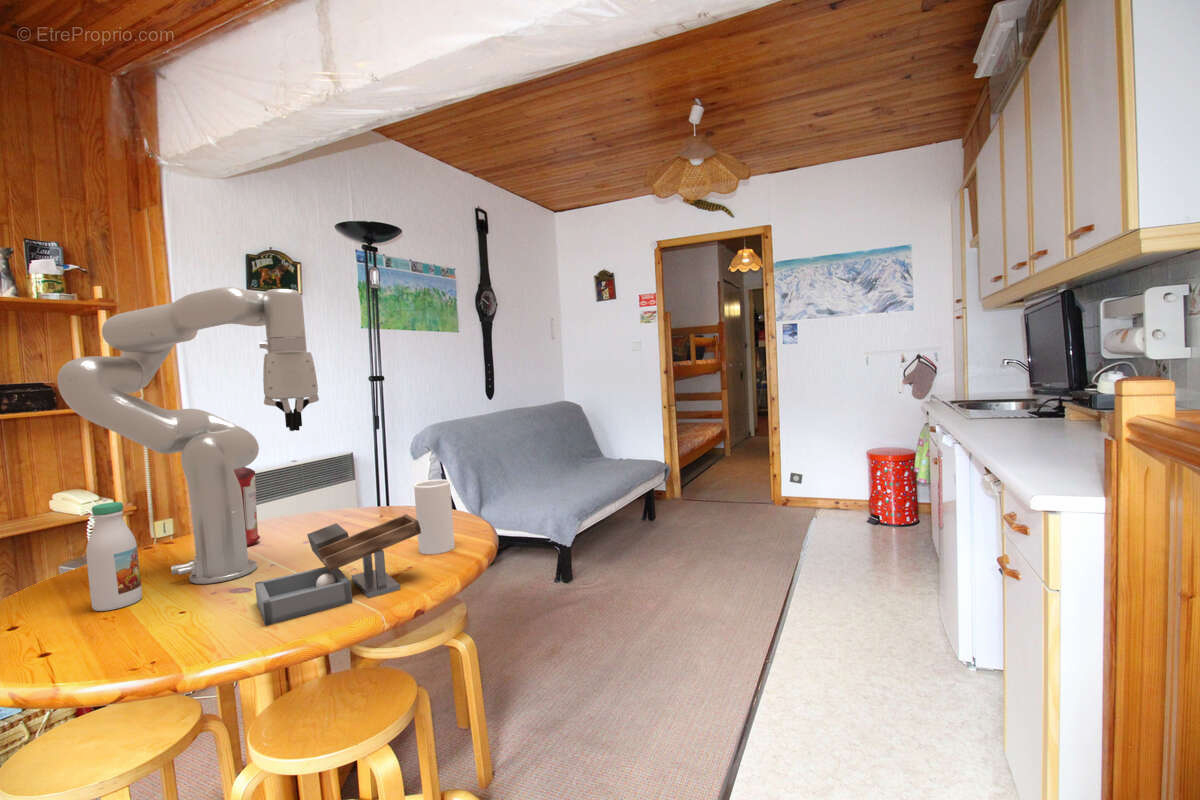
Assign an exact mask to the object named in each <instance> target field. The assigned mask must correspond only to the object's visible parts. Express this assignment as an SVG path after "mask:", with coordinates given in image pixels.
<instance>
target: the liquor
mask: <svg viewBox="0 0 1200 800" xmlns="http://www.w3.org/2000/svg"><path fill="white" fill-rule="evenodd" d="M234 472H235V475H236V477H237V479H238V481H239V484H240V487H241V492H242V500H243V510H244V520H245V531H246V542H247V547H252V546H254V545H256V544H257V542H258V541H259V540H260V538H261V536H260V535H259V533H258V532H259V530H258V515H257V483H256V482H257V481H256V471H255V470H253V469H252V468H249V467H247V466H245V467H243V468H240V469H237V470H234Z"/></svg>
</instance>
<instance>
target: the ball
mask: <svg viewBox="0 0 1200 800" xmlns="http://www.w3.org/2000/svg"><path fill="white" fill-rule="evenodd" d="M335 583H336V579H335V577H334V576H333V575H332V574H323V575H321V576H320V577H319V578H318V579H317V582H316V587H317V588H319V587H323V586H327V585H331V584H335Z"/></svg>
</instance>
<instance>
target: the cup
mask: <svg viewBox="0 0 1200 800" xmlns="http://www.w3.org/2000/svg"><path fill="white" fill-rule="evenodd" d="M413 491H414V503H415V513H416V515H415V516H416V518H415V519H416V520H418V522H419V525H420V529H421V530H420V531H421V533H420V534H418V535H417V540H418V541H417V542H418V552H419V553H420V554H422V555H437V554H438V555H441V554H444V553H447V552H450V551H453V550H454V548H455V547H456V545H455V534H454V520H453V518H454V517H453V505H452V492H451V482H450V480H449V479H430V480H429V479H428V480H423V481H419V482H416V483H414V485H413Z"/></svg>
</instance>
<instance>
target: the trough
mask: <svg viewBox="0 0 1200 800" xmlns="http://www.w3.org/2000/svg"><path fill="white" fill-rule="evenodd" d="M420 530H421V529H420V525H419V522H418V520H417V518H413V517H412V516H410V515H408V514H403V515H401V516H398V517H396V518H393V519H390V520H387V521H385V522H383V523H379V524H378V525H375V526H373V527H370V528H367V529H365V530H362V531H360V532H358V533H355V534H353V535H350V536H349V533H348V531H347V530H345V529H344V528H343V527H342V526H340V525H339V524H338V522H337V523H333V524H330V525H327V526H324V527H322V528H320V529H318V530H314V531H312V532H310V533H307V534H306V535H307V538H308V541H309V542H308V543H309V544H310V547H311V548H310V549H311V550H312V552H313V553H314V555H315V556H316V557H317V558H318V559H319V561H320V562H321V563H322V565H324V567H326V568H327V569H328V570H329V571H332V570H335V569H337V568H339V569H340V568H342V567H344V566H346V565H349V564H351V563H354V562H356V561H359V560H361V559H363V557H366V556H368V555H370V554H374V552H375V551H379V550H385V549H387V548H389V547H391V546H394V545H396V544H399V543H401V542H403V541H406V540H408V539H410V538H413V537H415V536H418V534H420V533H421V531H420Z"/></svg>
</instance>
